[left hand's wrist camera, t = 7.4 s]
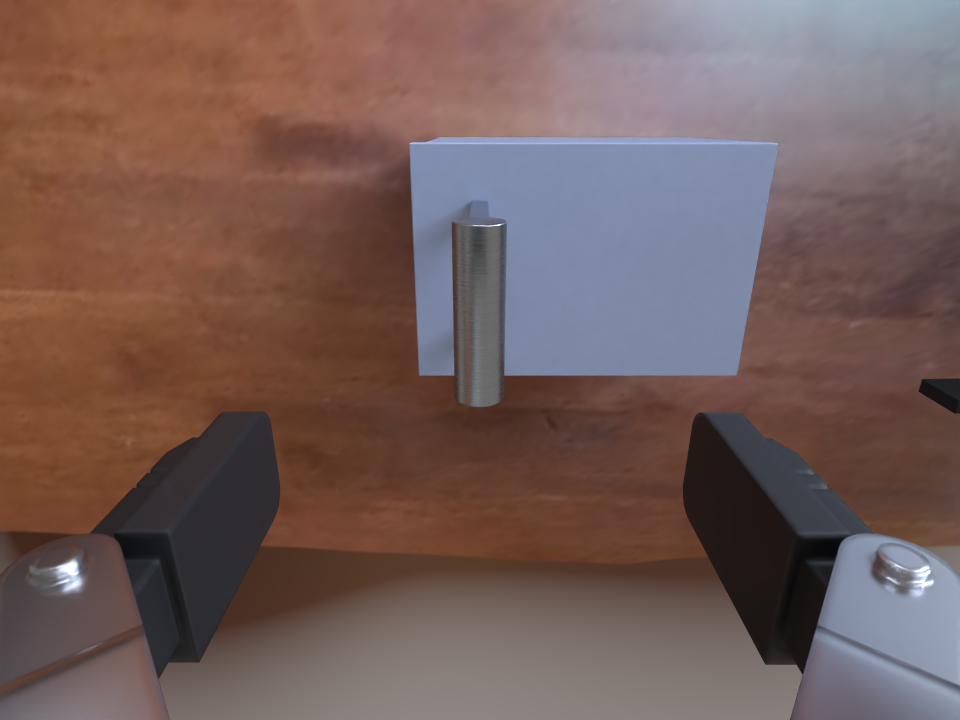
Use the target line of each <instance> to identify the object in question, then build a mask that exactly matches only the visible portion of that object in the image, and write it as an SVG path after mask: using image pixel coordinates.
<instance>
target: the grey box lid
mask: <svg viewBox="0 0 960 720" xmlns="http://www.w3.org/2000/svg"><path fill="white" fill-rule="evenodd" d="M777 148H778V143H628V142H412V143H409V156H410V179H411V203H412V226H413V250H414V274H415V297H416V321H417V344H418V368H419V376H454V389H455V399H456V400H457V401H458V402H459V403H461V404H463V405H466V406H471V407H488V406H493V405H496V404H498V403H500V402H501V401H502V400H503V398H504V376H737V371H738V366H739V360H740V355H741V349H742V343H743V338H744V332H745V327H746V321H747V316H748V310H749V304H750V299H751V293H752V288H753V282H754V276H755V271H756V265H757V260H758V254H759V249H760V243H761V237H762V232H763V226H764V221H765V215H766V210H767V204H768V198H769V193H770V187H771V182H772V176H773V170H774V165H775V159H776V154H777Z"/></svg>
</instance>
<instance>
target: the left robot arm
mask: <svg viewBox="0 0 960 720" xmlns="http://www.w3.org/2000/svg"><path fill="white" fill-rule="evenodd" d="M279 499H280V482H279V475H278V468H277V462H276V455H275V448H274V442H273V435H272V428H271V423H270V419H269V417H268V415H267V414H266V413H265V412H222V413H221V414H220V415H219V416H218V417H217V418H216V419H215V420H214V421H213V422H212V423H211V425H210V426H209V427H208V428H207V429H206V430H205V431H204V432H203V433H202V435H201V436H200V437H199V438H191V439H189V440H187V441H186V442H184V443H182V444H181V445H179V446H177V447H175V448H174V449H172V450H170V451H168V452H167V453H166V454H165V455H164V456H163V457H162V458H161V459H160V460H159V461H158V462H157V463H156V464H155V465H154V466H153V468H152V469H151V472H150V473H147V474H146V475H145V476H144V477H143V478H142V479H141V480H140V481H139V482H138V483H137V487H136V488H132V490H131V491H130V492H129V493H128V494H127V495H126V496H125V497H124V498H123V499H122V500H121V501H120V502H119V503H118V504H117V505H116V506H115V507H114V508H113V509H112V510H111V512H110V513H109V514H108V515H107V516H106V517H105V518H104V519H103V520H102V521H101V522H100V523H99V524H98V525H97V526H96V527H95V528H94V529H93V530H92V531H91V532H90V534H80V535H74V536H69V537H65V538H62V539H58V540H55V541H53V542H50V543H47V544H45V545H42V546H40V547H38V548H36V549H34V550H32V551H30V552H28V553H27V554H25V555H23V556H22V557H20V558H19V559H17V560H16V561H15V562H13V563H12V564H11V565H9V566H8V567H7V568H6V569H5V570H4V571H3V572H2V573H1V575H0V720H170V718H169V715H168V711H167V708H166V704H165V701H164V697H163V694H162V690H161V687H160V683H159V680H158V679H159V677H160V676H161V674H162V672H163V671H164V669H165V667H166V665H167V664H168V662H200V660H201V658H202V656H203V654H204V652H205V650H206V648H207V646H208V644H209V643H210V641H211V639H212V637H213V635H214V633H215V631H216V629H217V627H218V625H219V624H220V622H221V620H222V618H223V616H224V614H225V612H226V610H227V608H228V606H229V604H230V602H231V601H232V599H233V597H234V595H235V593H236V591H237V589H238V587H239V585H240V583H241V581H242V579H243V577H244V576H245V574H246V572H247V570H248V568H249V566H250V564H251V562H252V560H253V558H254V556H255V555H256V553H257V551H258V549H259V547H260V545H261V543H262V541H263V539H264V537H265V535H266V533H267V532H268V530H269V528H270V526H271V524H272V522H273V520H274V518H275V516H276V513H277V510H278V506H279ZM683 500H684V506H685V511H686V514H687V517H688V519H689V521H690V523H691V525H692V527H693V529H694V530H695V532H696V534H697V536H698V538H699V540H700V542H701V544H702V546H703V547H704V549H705V551H706V553H707V555H708V557H709V559H710V561H711V563H712V564H713V566H714V568H715V570H716V572H717V574H718V576H719V578H720V580H721V581H722V583H723V585H724V587H725V589H726V591H727V593H728V595H729V597H730V599H731V600H732V602H733V604H734V606H735V608H736V610H737V612H738V614H739V616H740V617H741V619H742V621H743V623H744V625H745V627H746V629H747V631H748V633H749V634H750V636H751V638H752V640H753V642H754V644H755V646H756V648H757V650H758V652H759V653H760V655H761V657H762V659H763V661H764V663H765V664H766V665H771V664H772V665H774V664H775V665H781V664H782V665H797V666H798V668H799V669H800V671H801V673H802V674H803V676H802V680H801V683H800V687H799V690H798V694H797V697H796V701H795V704H794V708H793V711H792V715H791V718H790V720H960V575H959V573H958V572H957V571H956V570H955V569H954V568H953V567H952V566H951V565H949V564H948V563H947V562H945V561H944V560H943V559H941V558H940V557H938V556H937V555H935V554H933V553H932V552H930V551H928V550H926V549H924V548H922V547H920V546H918V545H915V544H913V543H910V542H908V541H905V540H902V539H898V538H895V537H891V536H886V535H880V534H874V533H873V532H872V531H871V530H870V529H869V528H868V527H867V526H866V525H865V524H864V523H863V522H862V521H861V519H860V518H859V517H858V516H857V515H856V514H855V513H854V512H853V511H852V510H851V509H850V508H849V507H848V506H847V505H846V504H845V503H844V502H843V501H842V500H841V499H840V498H839V497H838V496H837V495H836V494H835V492H834V491H833V490H832V489H828V485H827V484H826V483H825V482H824V481H823V480H822V479H821V478H820V477H819V476H818V475H817V474H814V471H813V470H812V469H811V468H810V467H809V465H808V464H807V463H806V462H805V461H804V460H803V459H802V458H801V457H800V456H799V455H798V454H797V453H795V452H793V451H792V450H790V449H788V448H787V447H785V446H783V445H781V444H780V443H778V442H776V441H774V440H773V439H765V438H764V437H763V436H762V435H761V434H760V432H759V431H758V430H757V429H756V428H755V427H754V426H753V425H752V424H751V423H750V421H749V420H748V419H747V418H746V417H745V416H744V415H743V414H741V413H698V414H697V415H696V416H695V418H694V421H693V425H692V431H691V437H690V444H689V450H688V457H687V463H686V470H685V476H684V483H683Z"/></svg>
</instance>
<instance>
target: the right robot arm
mask: <svg viewBox="0 0 960 720" xmlns="http://www.w3.org/2000/svg"><path fill="white" fill-rule="evenodd" d="M919 392H920V393H922V394H924V395H925V396H927V397H928V398H930V399H932V400H933V401H935V402H937V403H938V404H940V405H942V406H943V407H945V408H947V409H948V410H950V411H951V412H953V413H960V379H922V382H921V385H920V389H919Z"/></svg>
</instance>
